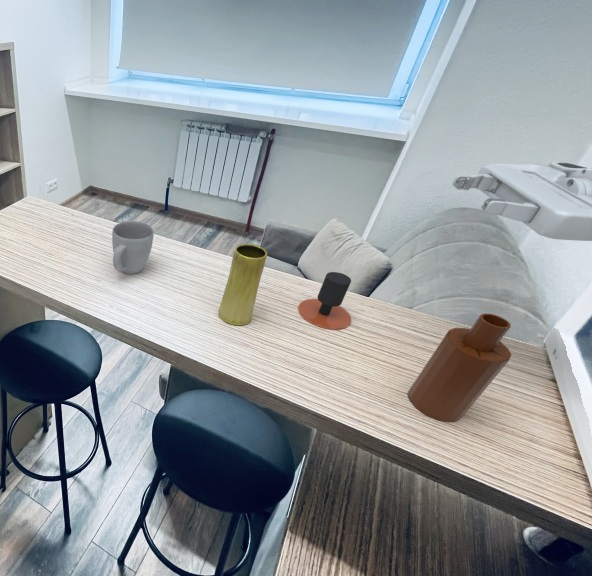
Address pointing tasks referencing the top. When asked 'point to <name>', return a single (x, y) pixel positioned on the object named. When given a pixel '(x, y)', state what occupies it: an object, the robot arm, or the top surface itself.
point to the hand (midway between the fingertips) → (469, 193)
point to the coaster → (332, 321)
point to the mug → (131, 246)
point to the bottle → (461, 369)
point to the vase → (242, 284)
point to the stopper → (333, 291)
